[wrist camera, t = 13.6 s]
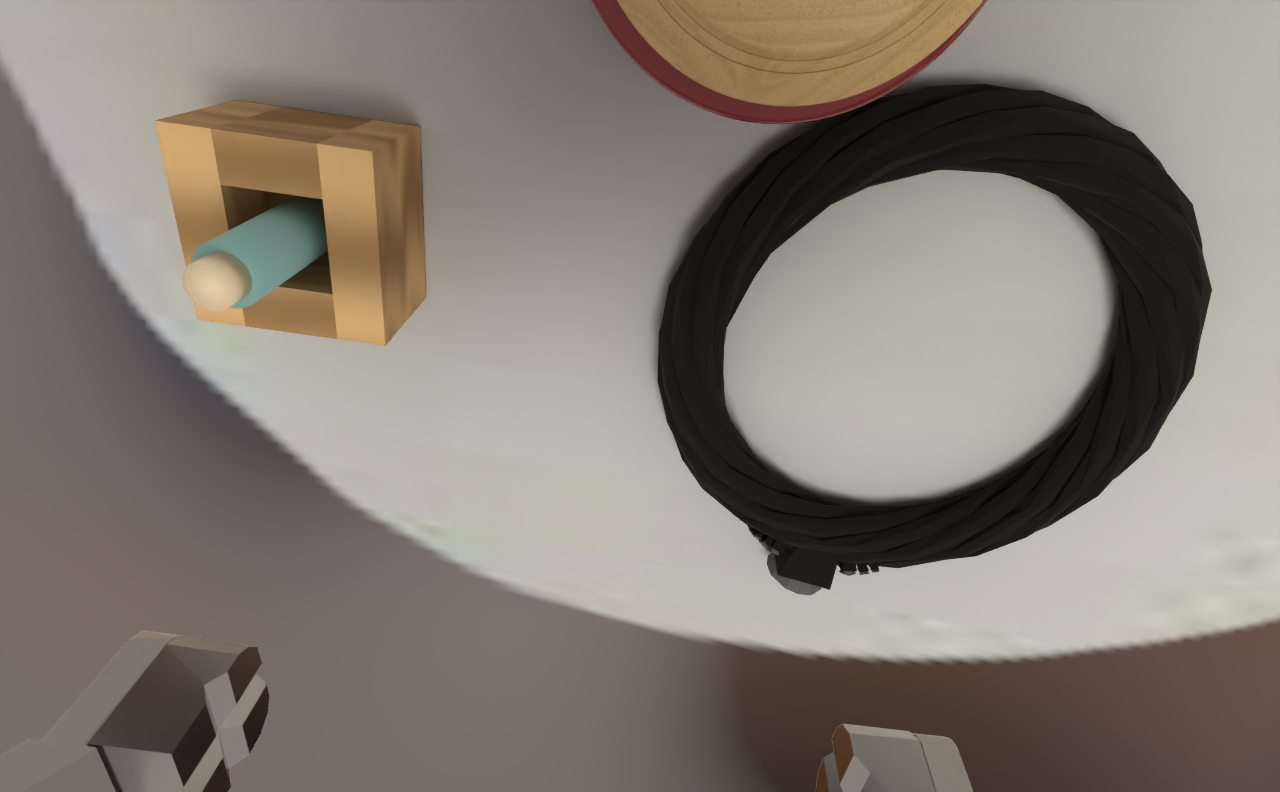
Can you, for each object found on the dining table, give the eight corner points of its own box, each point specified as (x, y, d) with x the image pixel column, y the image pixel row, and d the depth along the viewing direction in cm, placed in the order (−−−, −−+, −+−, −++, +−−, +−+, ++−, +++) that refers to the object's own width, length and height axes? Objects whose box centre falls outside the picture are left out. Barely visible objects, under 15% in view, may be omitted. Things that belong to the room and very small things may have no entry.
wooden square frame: (235, 100, 34) (154, 120, 29) (420, 126, 34) (372, 151, 29) (263, 274, 39) (197, 319, 33) (425, 297, 39) (385, 345, 33)
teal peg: (308, 176, 36) (164, 246, 26) (363, 184, 36) (238, 257, 26) (314, 229, 37) (179, 314, 27) (367, 237, 37) (250, 325, 27)
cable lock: (1377, 211, 30) (996, 653, 45) (1309, 190, 34) (975, 607, 48) (779, -9, 27) (583, 538, 42) (769, -9, 31) (590, 499, 46)
